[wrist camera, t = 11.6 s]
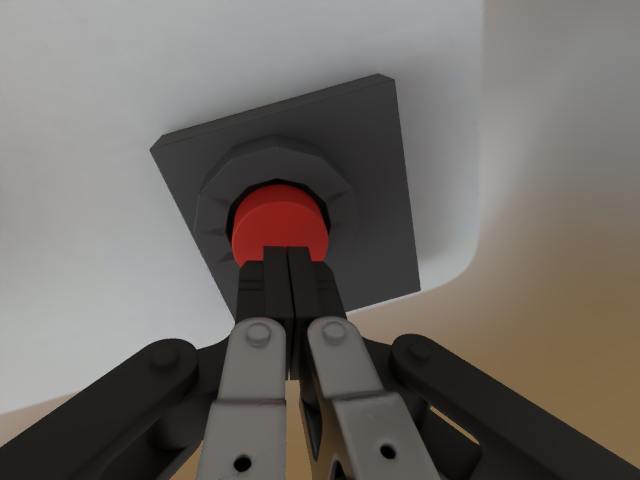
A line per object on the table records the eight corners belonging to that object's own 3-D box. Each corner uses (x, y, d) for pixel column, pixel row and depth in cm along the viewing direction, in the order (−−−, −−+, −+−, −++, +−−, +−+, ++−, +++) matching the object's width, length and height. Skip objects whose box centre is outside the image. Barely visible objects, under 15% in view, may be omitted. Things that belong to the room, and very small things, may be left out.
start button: (220, 197, 14) (216, 218, 13) (309, 172, 14) (315, 189, 13) (251, 270, 16) (250, 295, 15) (330, 247, 16) (337, 270, 15)
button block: (161, 135, 16) (135, 163, 13) (379, 72, 16) (411, 84, 13) (245, 314, 22) (243, 367, 18) (407, 268, 22) (434, 313, 18)
